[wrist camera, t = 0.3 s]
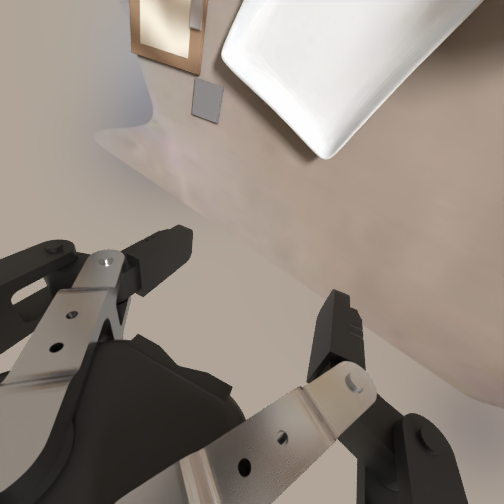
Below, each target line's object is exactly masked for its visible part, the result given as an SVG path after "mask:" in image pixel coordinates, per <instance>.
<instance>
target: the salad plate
mask: <svg viewBox="0 0 504 504" xmlns="http://www.w3.org/2000/svg"><path fill="white" fill-rule="evenodd" d="M483 1H484V0H244V1H243V3H242V5H241V7H240V9H239V11H238V13H237V16H236V18H235V20H234V22H233V24H232V26H231V29H230V31H229V33H228V36H227V38H226V40H225V43H224V45H223V48H222V52H221V57H222V60H223V61H224V63H225V64H226V65H227V66H228V68H229V69H230V70H231V71H232V72H233V73H234V74H235V75H236V76H237V77H238V78H239V79H241V80H242V81H243V82H244V83H245V84H246V85H247V86H248V87H249V88H250V89H251V90H252V91H254V92H255V93H256V94H257V95H258V96H259V97H260V98H261V99H262V100H263V101H264V102H265V103H266V104H267V105H269V106H270V107H271V108H272V109H273V110H274V111H275V112H276V113H277V114H278V115H279V116H280V117H281V118H282V119H283V120H284V122H285V123H286V124H287V125H288V126H289V127H290V128H291V129H292V130H293V131H294V132H295V133H296V134H297V135H298V136H299V137H300V138H301V139H302V140H303V141H304V143H305V144H306V145H307V146H308V147H309V148H310V149H311V150H312V151H313V152H314V153H315V154H316V155H317V156H318V157H320V158H321V159H323V160H327V159H330V158H331V157H332V156H334V155H335V154H336V153H337V152H338V151H339V150H340V149H341V148H342V147H343V146H344V145H345V144H346V143H347V141H348V140H349V139H350V138H351V137H352V136H353V135H354V134H355V133H356V132H357V131H358V129H359V128H360V127H361V126H362V125H363V124H364V123H365V122H366V121H367V120H368V119H369V118H370V116H371V115H372V114H373V113H374V112H375V111H376V110H377V109H378V108H379V107H380V106H381V105H382V104H383V103H384V102H385V100H386V99H387V98H388V97H389V96H390V95H391V94H392V93H393V92H394V91H395V90H396V89H397V88H398V87H399V86H400V85H401V84H402V83H403V81H404V80H405V79H406V78H407V77H408V76H409V75H410V74H411V73H412V72H413V71H414V70H415V69H416V68H417V67H418V66H419V65H420V64H421V63H422V62H423V61H424V60H425V59H426V58H427V57H428V56H429V55H430V54H431V53H432V52H433V51H434V50H435V49H436V48H437V47H438V46H439V45H440V44H441V43H442V42H443V41H444V40H445V39H446V38H447V37H448V36H449V35H450V34H451V33H452V32H453V31H454V30H455V29H456V28H457V27H458V26H459V25H460V24H461V23H462V22H463V21H464V20H465V19H466V18H467V17H468V16H469V15H470V14H471V13H472V12H473V11H474V10H475V9H476V8H477V7H478V6H479V5H480V4H481V3H482V2H483Z"/></svg>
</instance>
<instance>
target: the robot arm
mask: <svg viewBox="0 0 504 504" xmlns="http://www.w3.org/2000/svg"><path fill="white" fill-rule="evenodd" d="M192 240H193V231H192V230H191V229H189V228H187V227H184V226H182V225H177V226H175V227H173V228H171V229H166V230H162V231H158V232H156V233H154V234H152V235H151V236H149V237H147V238H145V239H144V240H141V241H139V242H137V243H135V244H133V245H131V246H130V247H128V248H126V249H124V250H122V251H117V250H101V251H97V252H95V253H93V254H91V255H90V254H85V253H79V252H76V249H75V246H74V244H73V243H72V242H70V241H67V240H51V241H46V242H43V243H40V244H38V245H35V246H33V247H30V248H28V249H25V250H23V251H20V252H18V253H15V254H13V255H10V256H8V257H5V258H3V259H0V354H2V353H3V352H5V351H6V350H7V349H9V348H10V347H12V346H13V345H15V344H16V343H18V342H19V341H20V340H22V339H23V338H25V337H26V336H28V335H29V334H31V333H32V332H33V334H32V335H31V337H30V339H29V340H28V342H27V344H26V345H25V347H24V349H23V350H22V352H21V354H20V355H19V357H18V359H17V360H16V362H15V364H14V365H13V367H12V369H11V370H10V371H7V372H4V373H1V374H0V504H271V503H272V502H273V501H275V500H276V499H277V498H278V497H279V496H280V495H281V494H282V493H283V492H284V491H285V490H286V489H287V488H288V487H289V486H290V485H291V484H292V483H293V482H294V481H295V480H296V479H297V478H298V477H299V476H300V475H301V474H302V473H304V472H305V470H307V469H308V468H309V467H310V466H311V465H312V464H313V463H314V462H315V461H316V460H317V459H318V458H319V457H320V456H321V455H322V454H323V453H324V452H325V451H326V450H327V449H328V448H329V447H330V446H331V445H332V444H333V443H334V442H335V441H336V439H338V440H339V441H340V442H341V443H342V444H343V445H344V446H345V447H346V448H347V449H348V450H349V451H350V452H351V453H352V454H353V455H354V456H355V457H356V458H357V504H468V501H467V498H466V494H465V491H464V487H463V484H462V480H461V477H460V473H459V470H458V467H457V463H456V459H455V456H454V453H453V450H452V448H451V446H450V444H449V443H448V441H447V440H446V438H445V437H444V435H443V434H442V433H441V432H440V430H439V429H438V428H437V427H436V426H435V425H434V424H433V423H431V422H430V421H429V420H427V419H426V418H424V417H423V416H421V415H418V414H415V413H410V414H407V415H405V416H403V415H402V414H401V413H399V412H398V411H397V410H396V409H394V408H393V407H392V406H391V405H390V404H388V403H387V402H386V401H385V400H384V399H383V398H381V397H380V396H379V395H378V393H377V391H376V386H375V384H374V382H373V380H372V378H371V377H370V375H369V374H368V373H367V372H366V369H365V356H364V341H363V332H362V330H363V329H362V319H361V317H360V315H359V313H358V311H357V310H355V309H353V308H351V307H350V296H349V295H347V294H345V293H342V292H340V291H337V290H335V289H333V290H332V291H331V293H330V295H329V296H328V298H327V300H326V301H325V303H324V305H323V306H322V308H321V310H320V312H319V314H318V317H317V321H316V326H315V332H314V338H313V344H312V350H311V357H310V363H309V369H308V375H307V383H309V384H308V385H306V386H305V387H303V388H302V387H297V388H295V389H294V390H292V391H290V392H289V393H287V394H286V395H284V396H283V397H281V398H280V399H278V400H277V401H275V402H274V403H272V404H270V405H269V406H267V407H266V408H264V409H263V410H262V411H260V412H258V413H257V414H255V415H254V416H252V417H250V418H249V419H247V420H246V419H245V417H244V414H243V412H242V411H241V409H240V407H239V406H238V405H237V403H236V402H235V400H234V399H233V398H232V397H231V396H230V393H231V390H232V386H230V385H228V384H227V383H225V382H223V381H221V380H219V379H218V378H216V377H214V376H212V375H211V374H209V373H206V372H202V371H198V370H193V369H189V368H185V367H181V366H178V365H177V364H176V363H175V362H174V361H173V360H172V359H171V358H170V357H169V356H168V355H167V353H166V352H165V351H164V350H163V349H162V348H161V347H160V346H159V345H157V344H155V343H154V342H152V341H150V340H148V339H146V338H144V337H143V336H141V335H139V334H138V335H136V337H134V338H133V339H132V340H123V333H124V327H125V323H126V319H127V315H128V310H129V306H130V302H131V295H133V294H134V293H136V294H138V295H140V296H142V297H144V296H145V295H146V294H148V293H149V292H150V291H151V290H153V289H154V288H155V287H156V286H158V285H159V284H160V283H161V282H163V281H164V280H165V279H166V278H167V277H169V276H170V275H171V274H172V273H174V272H175V271H176V270H177V269H178V268H180V267H181V266H182V265H183V264H185V263H186V262H187V261H188V260H189V258H190V256H191V253H192ZM41 278H44V280H45V282H46V284H47V287H45V288H43V289H41V290H39V291H38V292H36V293H34V294H32V295H30V296H29V297H27V298H25V299H23V300H21V301H20V302H18V303H16V304H14V305H12V303H11V298H12V296H13V295H14V293H16V292H17V291H18V290H20V289H22V288H24V287H26V286H28V285H29V284H31V283H33V282H35V281H37V280H39V279H41Z"/></svg>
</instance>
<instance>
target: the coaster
mask: <svg viewBox="0 0 504 504" xmlns="http://www.w3.org/2000/svg"><path fill="white" fill-rule="evenodd" d="M223 90H224V88H223V87H220V86H217V85H215V84H212V83H209V82H206V81H203V80H200V79H197V78H195V87H194V97H193V107H192V114H193V115H196V116H199V117H201V118H204V119H207V120H209V121H212V122H215V123H218V121H219V114H220V108H221V102H222V96H223Z"/></svg>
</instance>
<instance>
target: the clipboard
mask: <svg viewBox="0 0 504 504" xmlns="http://www.w3.org/2000/svg"><path fill="white" fill-rule="evenodd" d="M207 5H208V0H130V26H131V52H132V53H135V54H138V55H141V56H144V57H147V58H150V59H153V60H156V61H159V62H162V63H164V64H167V65H170V66H173V67H176V68H179V69H182V70H185V71H188V72H191V73H194V74H197V75H200V70H201V60H202V51H203V42H204V32H205V23H206V14H207Z"/></svg>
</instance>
